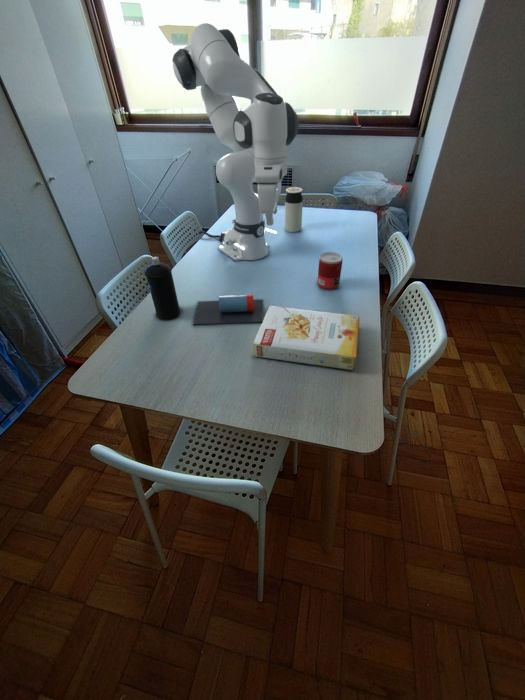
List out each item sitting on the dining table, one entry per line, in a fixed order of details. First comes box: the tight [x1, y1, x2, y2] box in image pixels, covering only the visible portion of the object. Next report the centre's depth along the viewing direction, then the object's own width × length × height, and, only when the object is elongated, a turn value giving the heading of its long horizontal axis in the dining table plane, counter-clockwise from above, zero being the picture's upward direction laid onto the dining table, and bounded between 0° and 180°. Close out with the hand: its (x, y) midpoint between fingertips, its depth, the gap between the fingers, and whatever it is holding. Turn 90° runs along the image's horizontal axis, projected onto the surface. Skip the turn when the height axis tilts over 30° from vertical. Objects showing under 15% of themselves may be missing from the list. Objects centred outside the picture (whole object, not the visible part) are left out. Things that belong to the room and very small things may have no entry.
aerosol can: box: [143, 256, 182, 321], centre depth 110 cm, size 8×8×20 cm
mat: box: [192, 299, 263, 326], centre depth 116 cm, size 22×13×1 cm, turn 91°
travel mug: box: [284, 186, 304, 233], centre depth 162 cm, size 8×8×18 cm
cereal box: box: [253, 305, 361, 371], centre depth 102 cm, size 20×6×28 cm
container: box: [218, 293, 255, 313], centre depth 114 cm, size 6×6×11 cm
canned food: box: [317, 251, 344, 291], centre depth 124 cm, size 8×8×11 cm
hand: (272, 218), depth 104 cm, fingers open, 8 cm apart
